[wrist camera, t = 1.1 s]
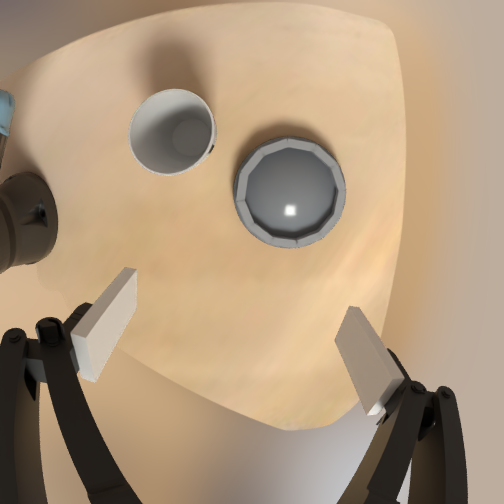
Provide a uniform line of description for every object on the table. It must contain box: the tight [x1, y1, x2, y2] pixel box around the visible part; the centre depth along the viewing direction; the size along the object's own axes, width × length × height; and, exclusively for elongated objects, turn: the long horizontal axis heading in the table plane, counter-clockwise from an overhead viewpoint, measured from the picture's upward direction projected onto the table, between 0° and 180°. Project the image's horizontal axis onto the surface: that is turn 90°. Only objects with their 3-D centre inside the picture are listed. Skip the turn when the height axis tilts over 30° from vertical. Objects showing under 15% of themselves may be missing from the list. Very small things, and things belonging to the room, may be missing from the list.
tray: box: [234, 137, 346, 248], centre depth 33 cm, size 14×14×2 cm
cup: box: [128, 89, 217, 176], centre depth 26 cm, size 8×8×10 cm
